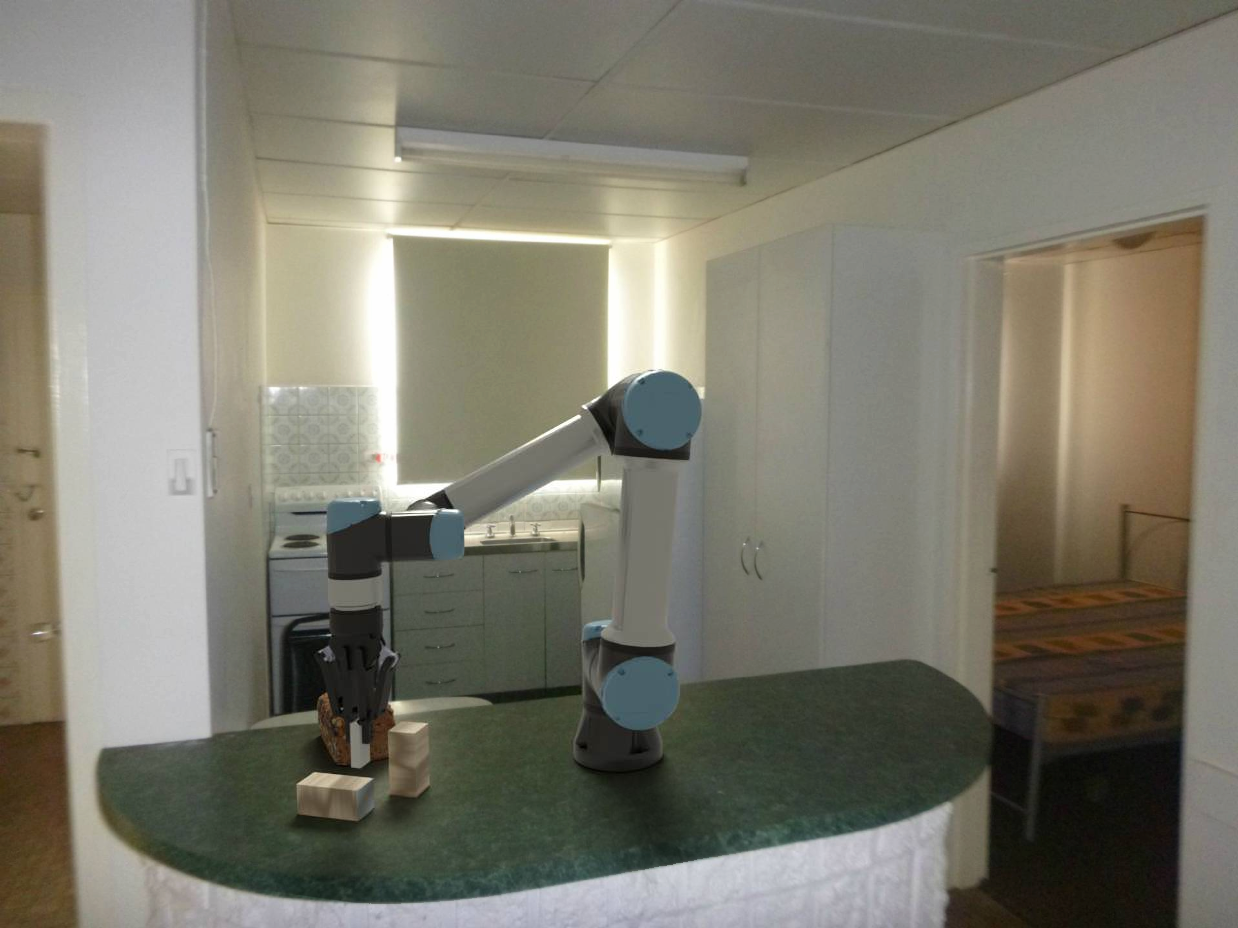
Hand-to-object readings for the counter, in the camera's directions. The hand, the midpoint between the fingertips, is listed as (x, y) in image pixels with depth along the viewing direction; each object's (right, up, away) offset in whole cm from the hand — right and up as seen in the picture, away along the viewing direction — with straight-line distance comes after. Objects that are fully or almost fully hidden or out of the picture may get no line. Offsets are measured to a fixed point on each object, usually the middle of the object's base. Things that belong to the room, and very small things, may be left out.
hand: (360, 763), depth 131 cm
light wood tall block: (+5, -7, +8) cm, 12 cm away
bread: (-9, -6, +27) cm, 30 cm away
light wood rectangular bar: (+1, -5, 0) cm, 5 cm away
